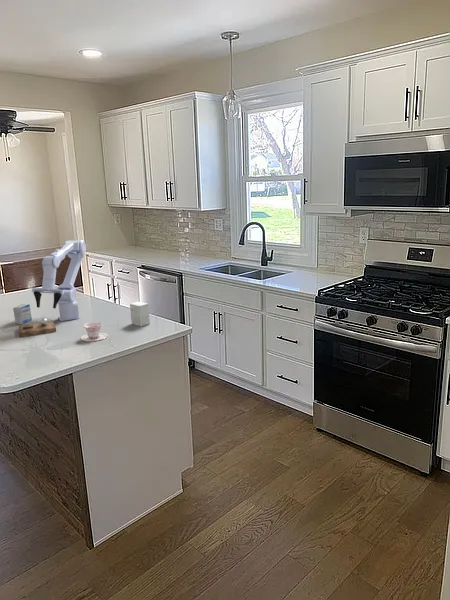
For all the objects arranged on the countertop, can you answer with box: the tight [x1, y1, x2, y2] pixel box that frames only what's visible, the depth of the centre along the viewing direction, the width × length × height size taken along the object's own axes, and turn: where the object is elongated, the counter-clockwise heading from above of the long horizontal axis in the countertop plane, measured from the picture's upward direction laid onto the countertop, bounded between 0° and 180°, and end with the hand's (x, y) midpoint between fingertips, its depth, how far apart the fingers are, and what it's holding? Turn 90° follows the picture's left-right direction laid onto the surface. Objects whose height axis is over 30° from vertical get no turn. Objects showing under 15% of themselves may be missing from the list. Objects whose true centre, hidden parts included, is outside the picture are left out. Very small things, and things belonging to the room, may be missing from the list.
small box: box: [129, 301, 151, 327], centre depth 229 cm, size 8×6×10 cm
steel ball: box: [39, 318, 49, 326], centre depth 225 cm, size 4×4×4 cm
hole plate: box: [17, 320, 57, 338], centre depth 224 cm, size 16×14×2 cm
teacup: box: [80, 321, 109, 343], centre depth 211 cm, size 12×12×6 cm
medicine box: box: [12, 303, 32, 325], centre depth 239 cm, size 8×4×9 cm, turn 168°
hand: (46, 307), depth 225 cm, fingers open, 7 cm apart
